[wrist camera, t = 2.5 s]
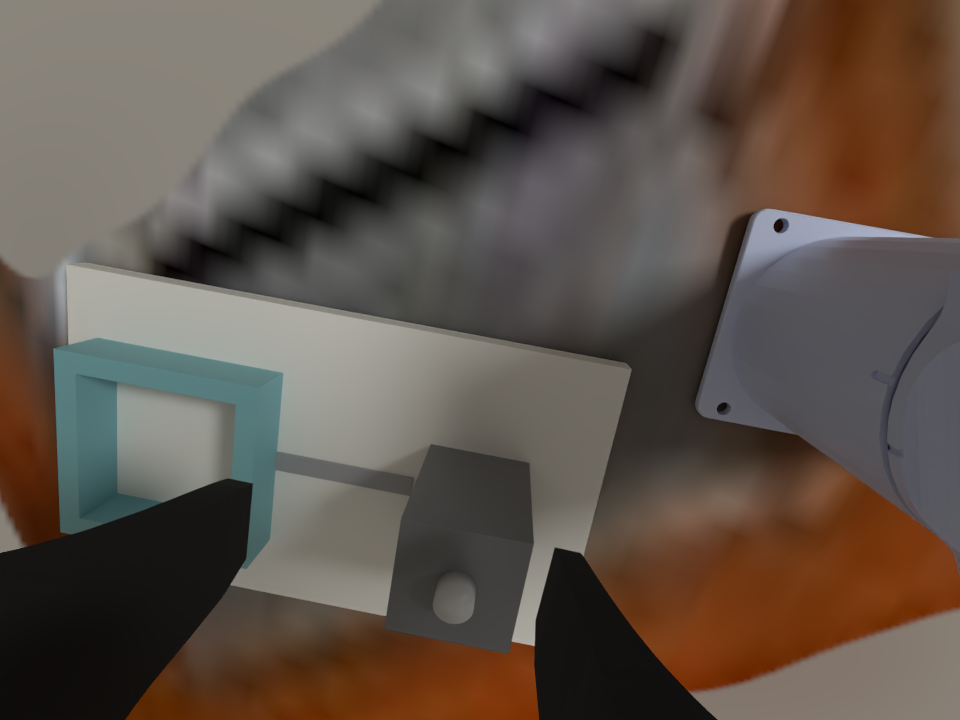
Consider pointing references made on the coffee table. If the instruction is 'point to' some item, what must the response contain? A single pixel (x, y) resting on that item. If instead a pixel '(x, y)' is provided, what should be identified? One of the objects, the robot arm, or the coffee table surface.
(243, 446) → the board
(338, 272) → the coffee table surface
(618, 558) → the coffee table surface
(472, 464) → the cable plug
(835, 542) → the coffee table surface
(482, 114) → the coffee table surface
